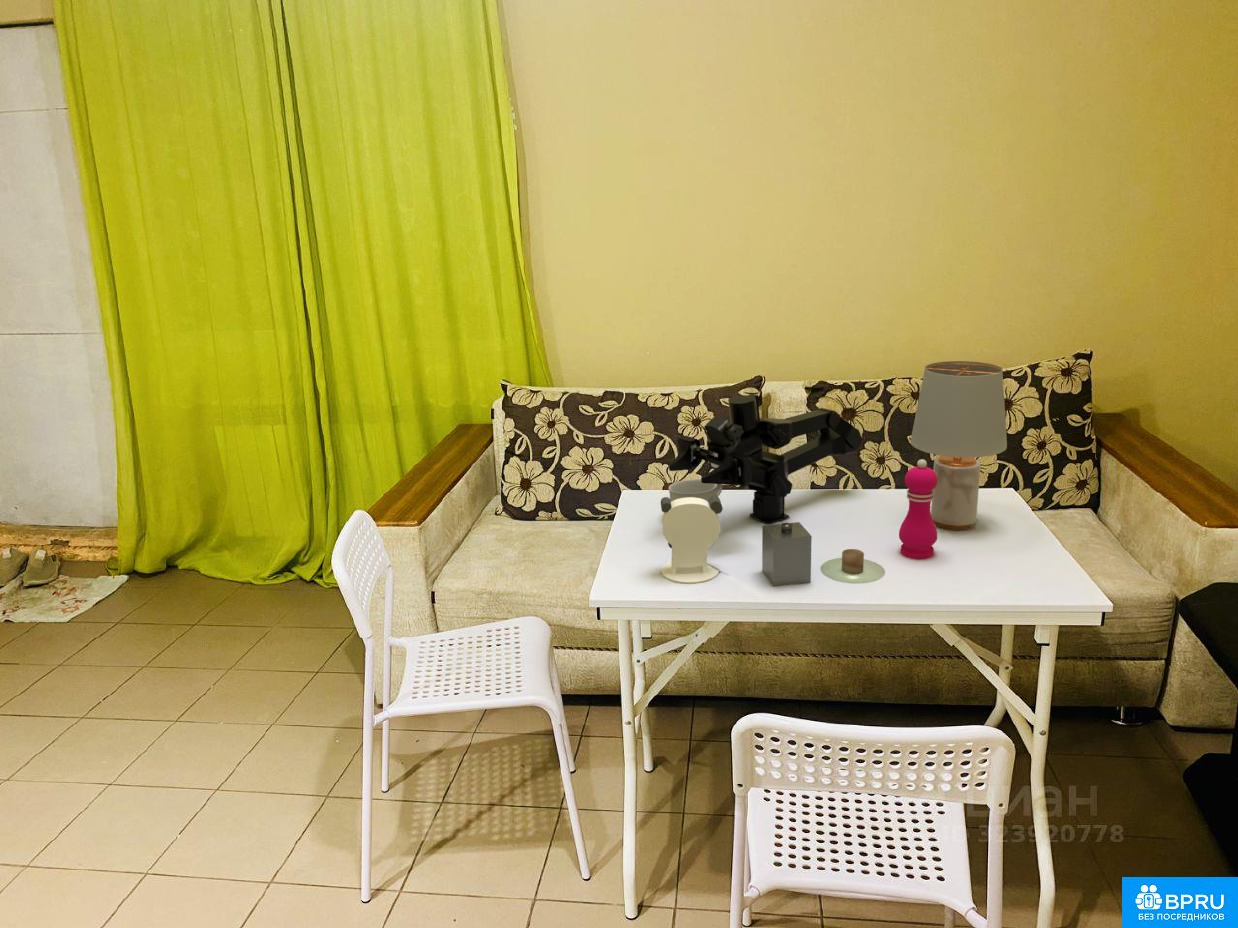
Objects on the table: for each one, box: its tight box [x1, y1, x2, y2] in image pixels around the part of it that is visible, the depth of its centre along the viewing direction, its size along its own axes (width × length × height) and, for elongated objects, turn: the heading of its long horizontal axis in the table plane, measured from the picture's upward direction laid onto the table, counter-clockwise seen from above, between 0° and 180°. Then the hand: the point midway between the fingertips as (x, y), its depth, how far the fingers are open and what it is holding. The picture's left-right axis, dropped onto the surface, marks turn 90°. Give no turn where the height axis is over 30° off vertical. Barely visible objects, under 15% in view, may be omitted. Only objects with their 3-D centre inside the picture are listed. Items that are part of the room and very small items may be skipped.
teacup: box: [668, 478, 723, 502], centre depth 209 cm, size 14×11×8 cm
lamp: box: [910, 360, 1008, 531], centre depth 194 cm, size 19×19×34 cm
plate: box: [819, 557, 886, 585], centre depth 178 cm, size 12×12×1 cm
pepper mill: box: [898, 459, 938, 560], centre depth 181 cm, size 7×7×20 cm
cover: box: [761, 521, 812, 588], centre depth 174 cm, size 7×7×11 cm
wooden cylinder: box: [841, 548, 865, 574], centre depth 177 cm, size 4×4×4 cm
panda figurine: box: [660, 495, 723, 585], centre depth 179 cm, size 12×11×15 cm
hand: (685, 474), depth 187 cm, fingers open, 9 cm apart
